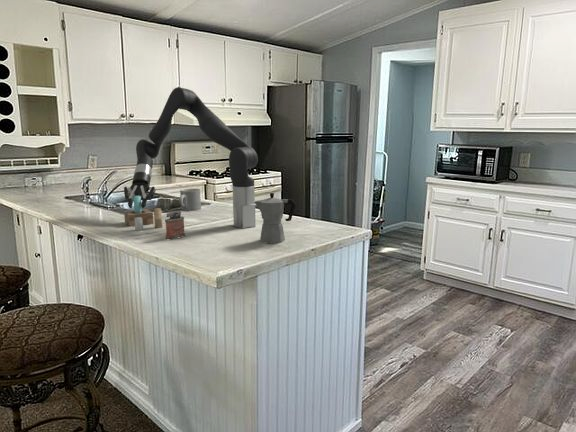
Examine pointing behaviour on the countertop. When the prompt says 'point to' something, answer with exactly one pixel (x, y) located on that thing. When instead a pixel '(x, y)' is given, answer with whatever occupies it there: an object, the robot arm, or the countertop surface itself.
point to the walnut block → (131, 215)
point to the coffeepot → (273, 218)
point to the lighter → (174, 225)
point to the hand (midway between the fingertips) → (136, 206)
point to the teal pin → (137, 204)
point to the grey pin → (138, 224)
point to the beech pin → (158, 218)
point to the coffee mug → (190, 199)
